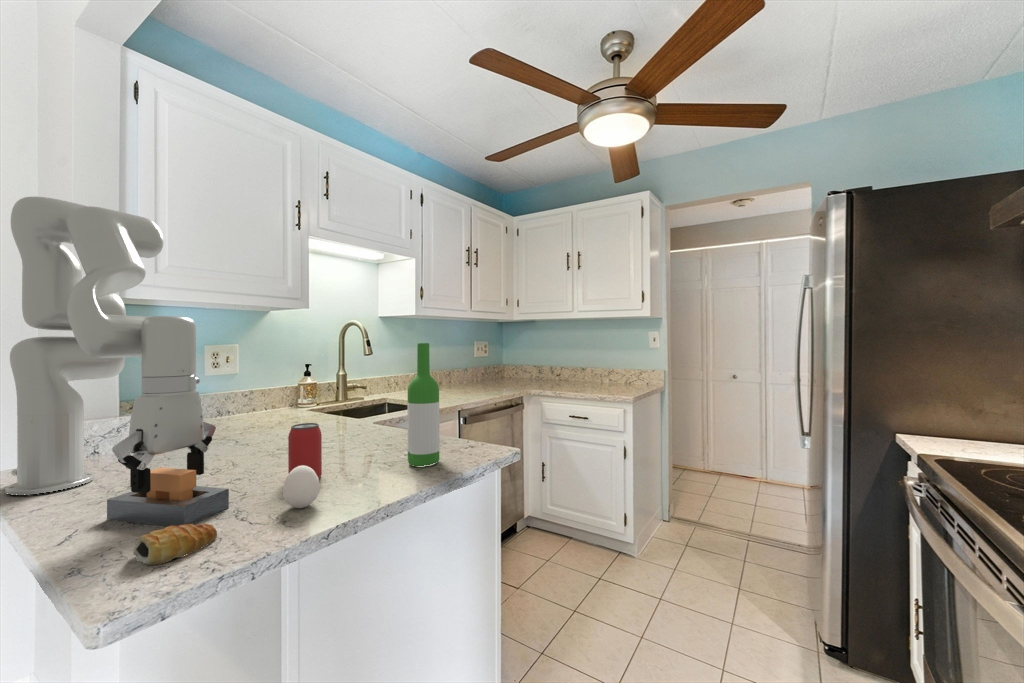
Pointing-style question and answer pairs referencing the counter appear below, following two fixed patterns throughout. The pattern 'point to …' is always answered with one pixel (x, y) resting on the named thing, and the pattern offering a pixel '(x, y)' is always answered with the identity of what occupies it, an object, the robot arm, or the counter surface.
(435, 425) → the wine bottle
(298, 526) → the counter surface
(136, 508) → the gray rectangular frame
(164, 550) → the pastry
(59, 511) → the counter surface
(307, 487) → the egg
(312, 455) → the beer can
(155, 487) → the tall orange stepped block
